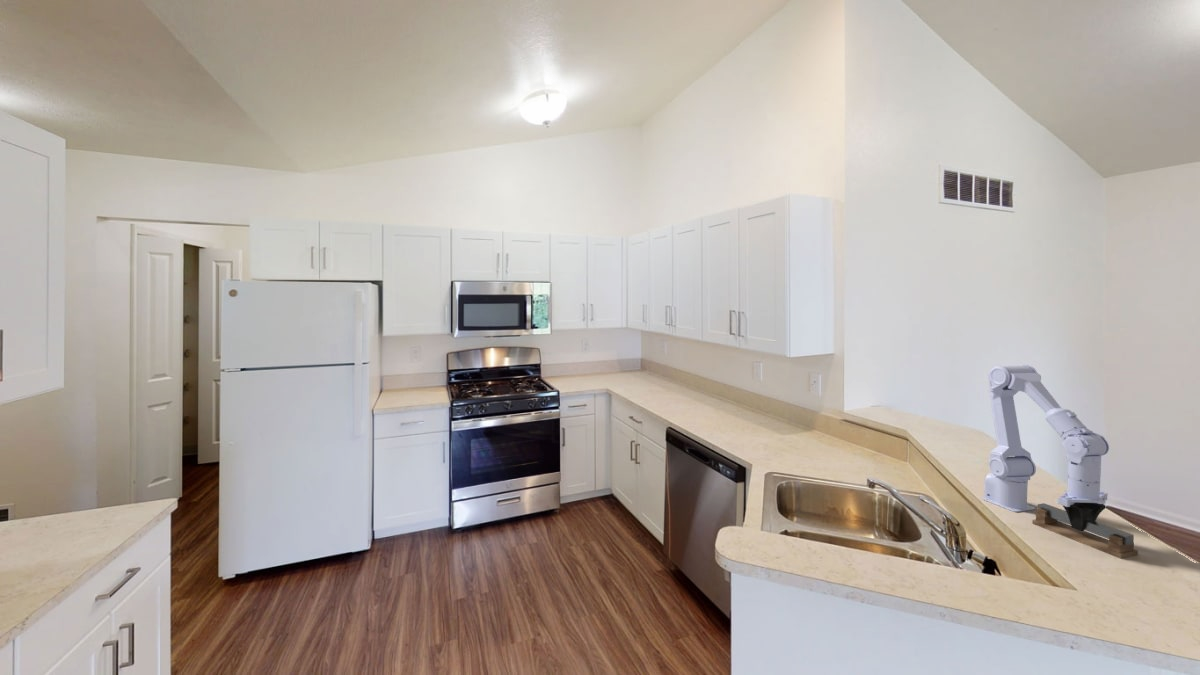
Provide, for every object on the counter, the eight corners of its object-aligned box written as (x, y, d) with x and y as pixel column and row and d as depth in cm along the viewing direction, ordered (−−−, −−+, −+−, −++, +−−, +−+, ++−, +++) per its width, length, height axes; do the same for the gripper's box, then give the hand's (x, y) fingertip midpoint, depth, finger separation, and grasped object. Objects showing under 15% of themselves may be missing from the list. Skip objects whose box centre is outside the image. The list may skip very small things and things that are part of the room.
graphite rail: (1037, 512, 123) (1037, 504, 122) (1043, 511, 123) (1043, 503, 123) (1126, 545, 105) (1126, 536, 105) (1133, 544, 105) (1133, 534, 105)
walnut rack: (1032, 523, 122) (1032, 507, 122) (1047, 520, 124) (1048, 505, 123) (1120, 558, 105) (1121, 540, 104) (1137, 554, 106) (1138, 536, 106)
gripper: (1083, 488, 108) (1081, 540, 109) (1124, 481, 111) (1122, 532, 112) (1048, 477, 115) (1047, 526, 115) (1088, 471, 118) (1086, 519, 119)
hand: (1081, 528), depth 114 cm, fingers closed on graphite rail, 2 cm apart
